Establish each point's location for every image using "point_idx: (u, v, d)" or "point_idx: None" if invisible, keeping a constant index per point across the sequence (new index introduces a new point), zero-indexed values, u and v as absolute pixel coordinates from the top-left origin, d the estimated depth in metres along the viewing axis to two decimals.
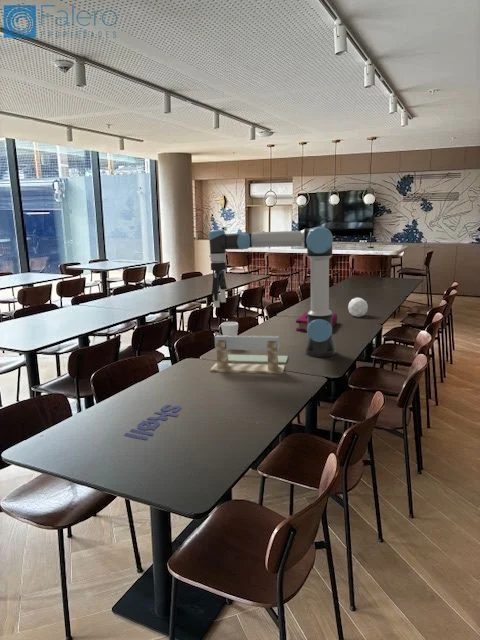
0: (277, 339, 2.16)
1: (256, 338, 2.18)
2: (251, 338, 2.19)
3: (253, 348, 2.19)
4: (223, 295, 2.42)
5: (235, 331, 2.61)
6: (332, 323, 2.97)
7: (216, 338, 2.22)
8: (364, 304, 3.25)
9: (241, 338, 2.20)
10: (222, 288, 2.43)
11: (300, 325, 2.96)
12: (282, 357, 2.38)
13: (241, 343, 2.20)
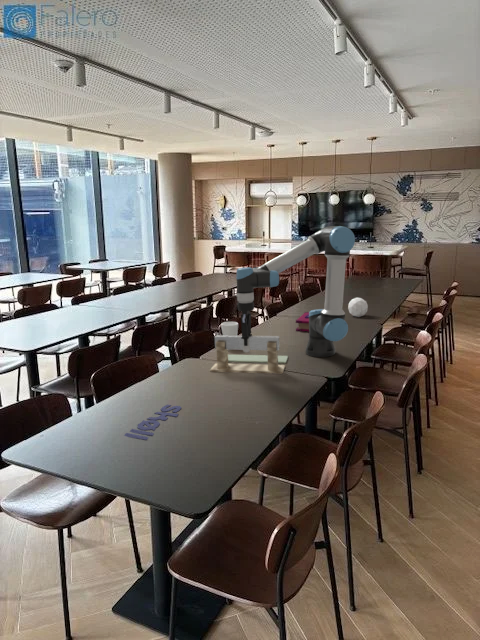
0: (277, 339, 2.16)
1: (256, 338, 2.18)
2: (251, 338, 2.19)
3: (253, 348, 2.19)
4: None
5: (235, 331, 2.61)
6: None
7: (216, 338, 2.22)
8: (364, 304, 3.25)
9: None
10: None
11: (300, 325, 2.96)
12: (282, 357, 2.38)
13: (241, 343, 2.20)
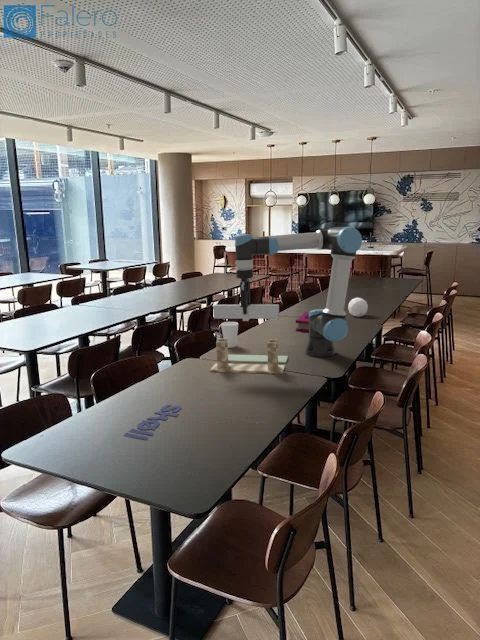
0: (277, 307, 2.13)
1: (255, 306, 2.15)
2: (250, 306, 2.16)
3: (252, 317, 2.16)
4: None
5: (235, 331, 2.61)
6: None
7: (215, 307, 2.19)
8: (364, 304, 3.25)
9: None
10: None
11: (300, 325, 2.96)
12: (282, 357, 2.38)
13: (241, 311, 2.17)
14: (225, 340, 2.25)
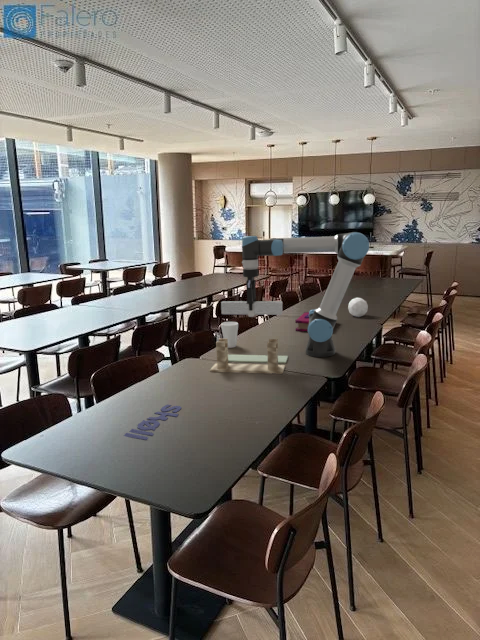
0: (280, 304, 2.29)
1: (260, 303, 2.31)
2: (256, 303, 2.31)
3: (257, 313, 2.32)
4: None
5: (235, 331, 2.61)
6: None
7: (222, 303, 2.35)
8: (364, 304, 3.25)
9: None
10: None
11: (299, 325, 2.96)
12: (282, 357, 2.38)
13: (246, 307, 2.33)
14: (225, 340, 2.25)
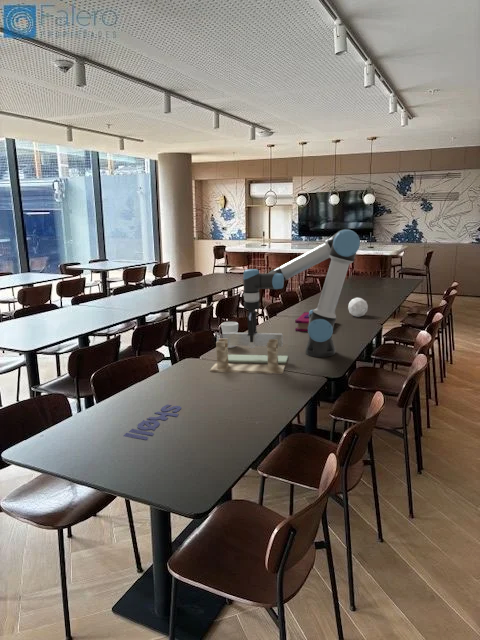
0: (281, 336, 2.32)
1: (261, 335, 2.34)
2: (256, 335, 2.35)
3: (258, 344, 2.35)
4: None
5: (235, 331, 2.61)
6: None
7: (224, 335, 2.38)
8: (364, 304, 3.25)
9: None
10: None
11: (299, 325, 2.96)
12: (282, 357, 2.38)
13: (247, 339, 2.36)
14: (225, 340, 2.25)
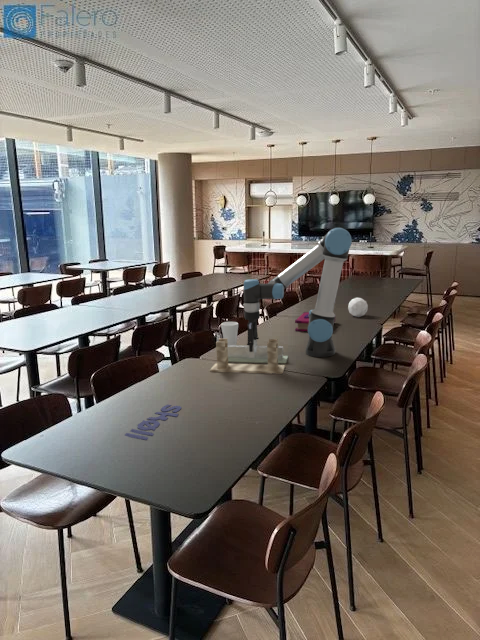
0: (281, 349, 2.34)
1: (262, 348, 2.35)
2: (257, 348, 2.36)
3: (259, 357, 2.37)
4: (255, 345, 2.42)
5: (235, 331, 2.61)
6: None
7: None
8: (364, 304, 3.25)
9: (248, 348, 2.37)
10: (254, 338, 2.42)
11: (299, 325, 2.96)
12: None
13: (248, 352, 2.37)
14: (225, 340, 2.25)
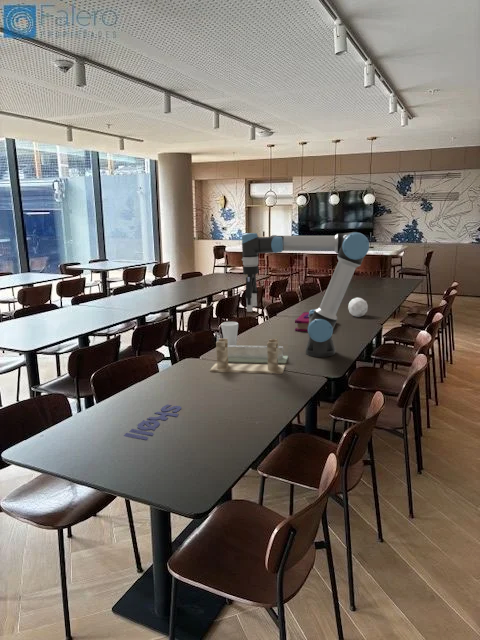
0: (281, 349, 2.34)
1: (262, 348, 2.35)
2: (257, 348, 2.36)
3: (259, 357, 2.37)
4: (254, 299, 2.39)
5: (235, 331, 2.61)
6: None
7: None
8: (364, 304, 3.25)
9: (248, 348, 2.37)
10: (253, 292, 2.39)
11: (299, 325, 2.96)
12: None
13: (248, 352, 2.37)
14: (225, 340, 2.25)
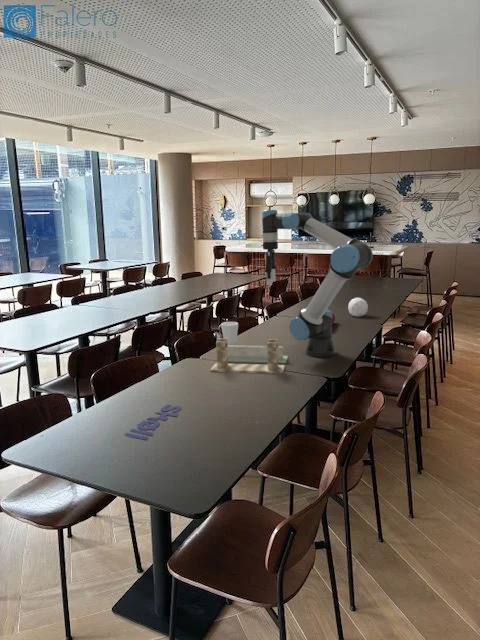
0: (281, 349, 2.34)
1: (262, 348, 2.35)
2: (257, 348, 2.36)
3: (259, 357, 2.37)
4: (273, 274, 2.49)
5: (235, 331, 2.61)
6: None
7: None
8: (364, 304, 3.25)
9: (248, 348, 2.37)
10: (272, 267, 2.49)
11: None
12: None
13: (248, 352, 2.37)
14: (225, 340, 2.25)
